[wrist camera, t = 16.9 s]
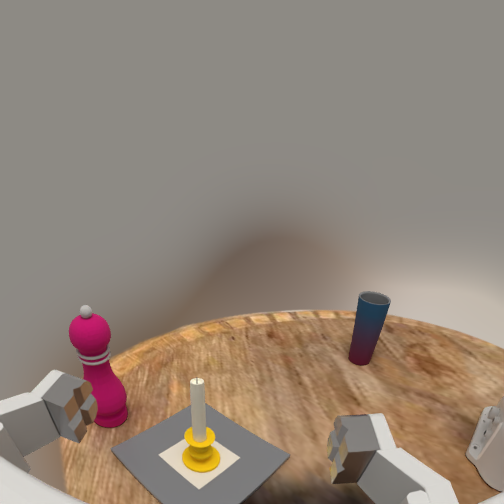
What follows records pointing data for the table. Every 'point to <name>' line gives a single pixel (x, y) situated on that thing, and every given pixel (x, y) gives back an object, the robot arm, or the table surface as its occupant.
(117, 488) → the table surface
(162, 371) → the table surface
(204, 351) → the table surface
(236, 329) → the table surface
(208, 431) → the candle
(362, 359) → the cup
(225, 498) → the tile
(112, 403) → the pepper mill
